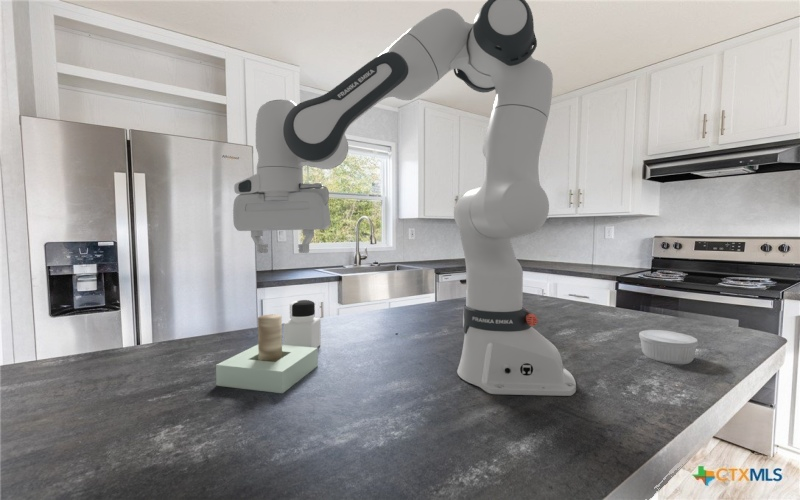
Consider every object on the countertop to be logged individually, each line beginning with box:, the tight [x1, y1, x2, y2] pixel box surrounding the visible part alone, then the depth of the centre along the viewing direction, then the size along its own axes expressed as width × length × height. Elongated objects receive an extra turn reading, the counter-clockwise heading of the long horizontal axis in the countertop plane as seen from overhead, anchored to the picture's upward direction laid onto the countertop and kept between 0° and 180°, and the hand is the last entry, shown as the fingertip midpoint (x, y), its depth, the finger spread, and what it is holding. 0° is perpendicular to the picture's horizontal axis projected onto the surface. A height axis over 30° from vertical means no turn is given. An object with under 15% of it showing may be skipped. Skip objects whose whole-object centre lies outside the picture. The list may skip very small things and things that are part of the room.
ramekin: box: [638, 329, 699, 365], centre depth 86 cm, size 11×11×5 cm
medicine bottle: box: [282, 299, 322, 348], centre depth 91 cm, size 7×7×12 cm
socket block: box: [215, 344, 319, 394], centre depth 74 cm, size 14×14×4 cm
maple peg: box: [257, 314, 283, 362], centre depth 74 cm, size 4×4×12 cm
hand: (282, 252), depth 75 cm, fingers open, 8 cm apart
